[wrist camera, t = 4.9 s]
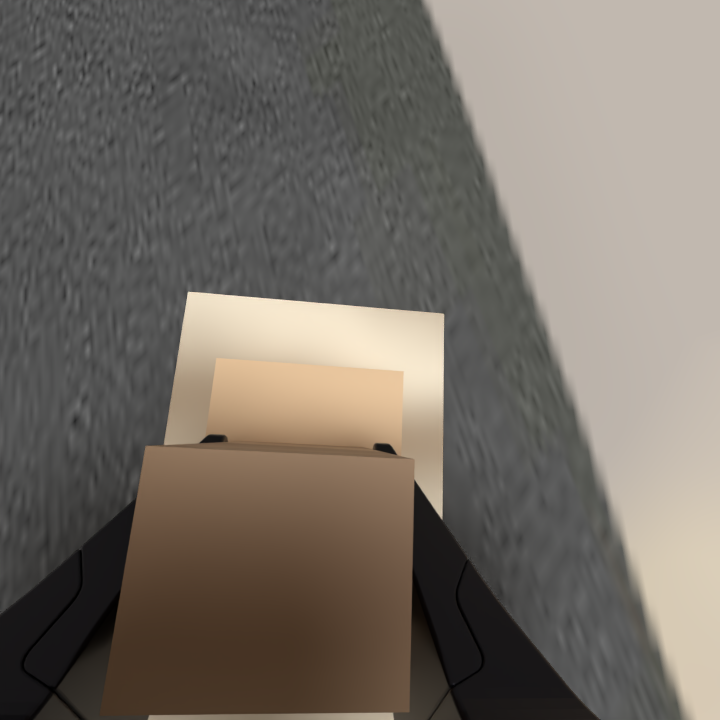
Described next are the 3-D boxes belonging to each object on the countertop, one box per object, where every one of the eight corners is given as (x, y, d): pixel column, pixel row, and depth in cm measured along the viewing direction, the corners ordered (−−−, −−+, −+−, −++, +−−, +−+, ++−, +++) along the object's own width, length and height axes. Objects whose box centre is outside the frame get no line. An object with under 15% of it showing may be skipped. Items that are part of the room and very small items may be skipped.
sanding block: (384, 615, 12) (510, 976, 4) (200, 613, 12) (-84, 1021, 4) (392, 380, 14) (493, 298, 6) (231, 369, 14) (88, 261, 5)
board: (411, 992, 13) (437, 1158, 10) (110, 1016, 12) (42, 1205, 9) (423, 333, 18) (444, 313, 15) (211, 316, 17) (187, 291, 14)
